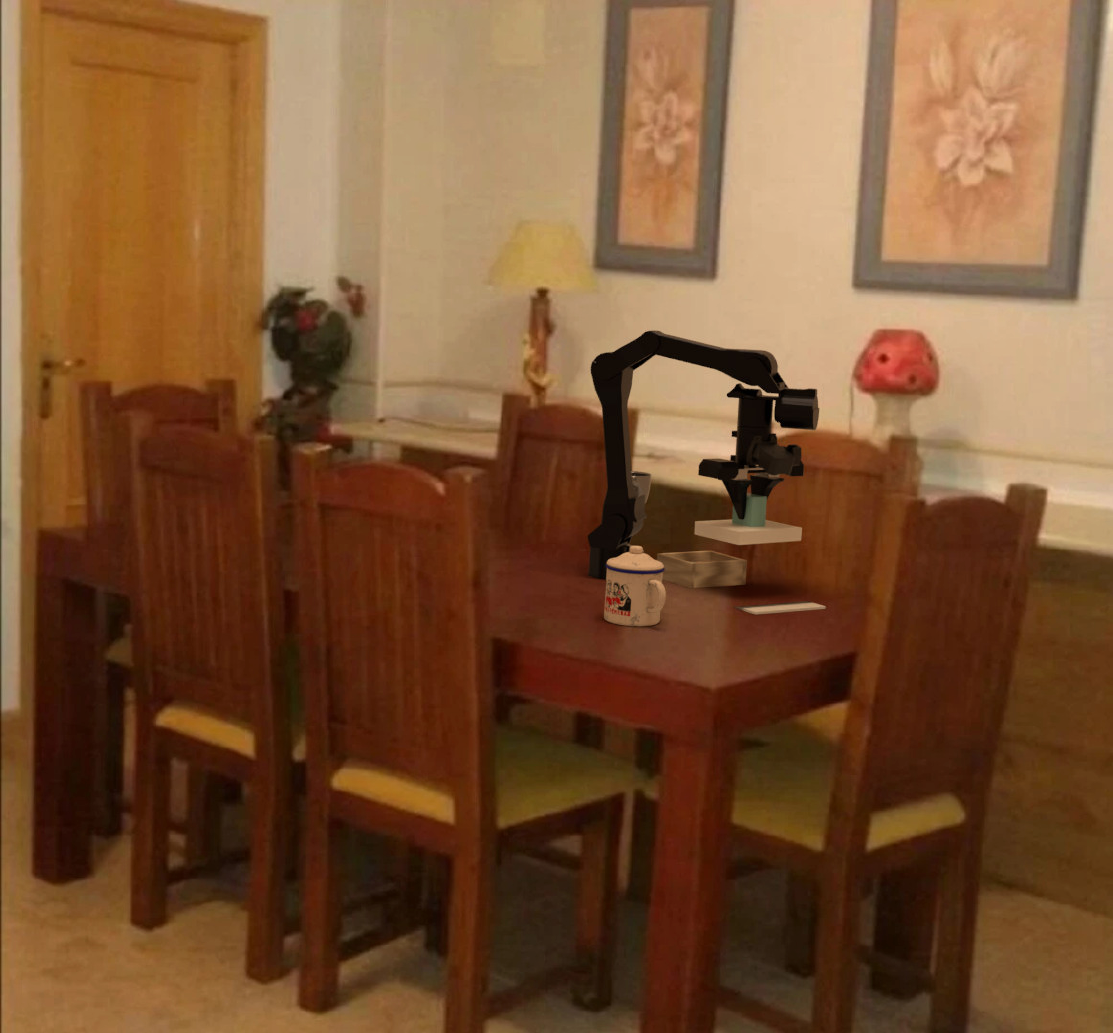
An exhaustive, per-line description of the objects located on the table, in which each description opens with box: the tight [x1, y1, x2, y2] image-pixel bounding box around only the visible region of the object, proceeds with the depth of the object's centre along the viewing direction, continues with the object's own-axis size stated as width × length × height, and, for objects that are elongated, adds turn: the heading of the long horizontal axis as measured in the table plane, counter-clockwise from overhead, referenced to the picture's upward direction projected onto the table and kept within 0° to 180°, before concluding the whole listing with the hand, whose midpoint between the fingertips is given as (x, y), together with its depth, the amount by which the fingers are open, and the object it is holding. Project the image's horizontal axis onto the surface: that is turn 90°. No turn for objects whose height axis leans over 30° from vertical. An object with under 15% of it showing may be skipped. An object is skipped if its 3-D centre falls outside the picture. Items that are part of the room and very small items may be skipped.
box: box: [656, 550, 748, 589], centre depth 285 cm, size 12×10×5 cm
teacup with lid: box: [603, 545, 667, 627], centre depth 251 cm, size 12×9×12 cm
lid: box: [694, 492, 803, 546], centre depth 275 cm, size 14×12×7 cm
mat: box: [732, 600, 826, 615], centre depth 272 cm, size 15×14×1 cm
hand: (748, 518), depth 275 cm, fingers closed on lid, 3 cm apart
